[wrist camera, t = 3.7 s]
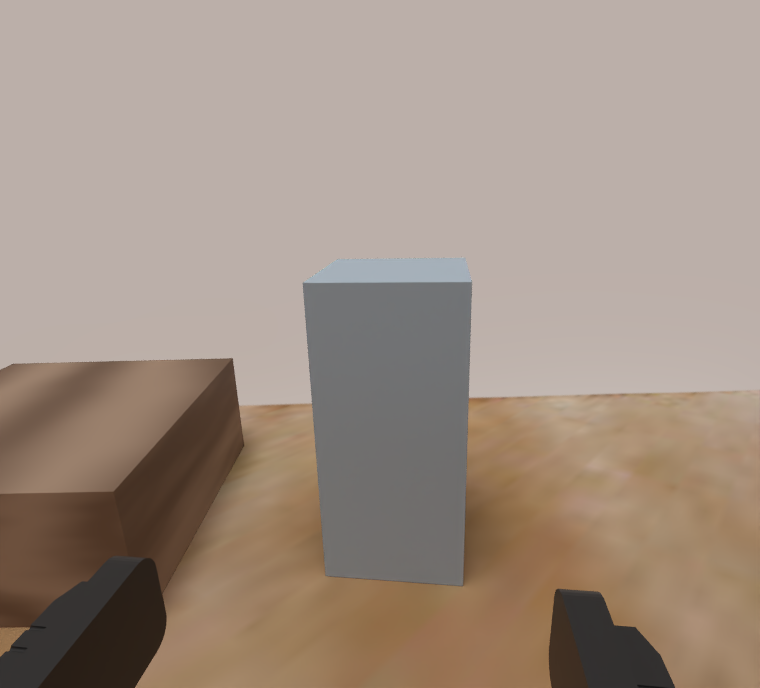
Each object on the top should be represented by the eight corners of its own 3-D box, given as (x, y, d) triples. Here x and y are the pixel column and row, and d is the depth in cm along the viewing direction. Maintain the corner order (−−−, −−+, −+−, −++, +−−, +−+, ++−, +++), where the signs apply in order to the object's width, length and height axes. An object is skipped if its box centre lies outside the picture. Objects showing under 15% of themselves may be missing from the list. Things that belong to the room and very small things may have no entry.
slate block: (459, 500, 24) (465, 257, 21) (463, 585, 19) (472, 282, 15) (350, 494, 25) (337, 259, 21) (325, 575, 20) (302, 283, 16)
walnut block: (244, 449, 30) (232, 358, 28) (146, 631, 18) (113, 491, 16) (38, 453, 30) (12, 363, 29) (-201, 636, 18) (-272, 498, 16)
